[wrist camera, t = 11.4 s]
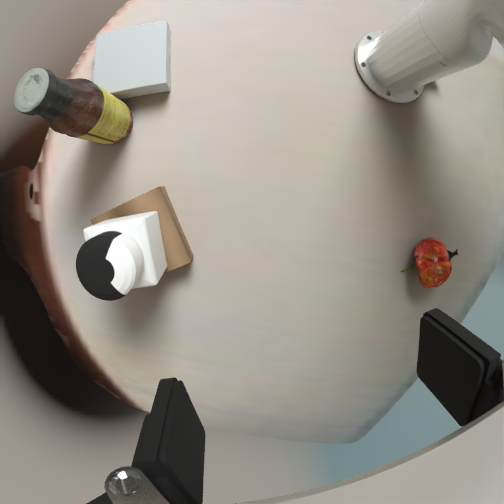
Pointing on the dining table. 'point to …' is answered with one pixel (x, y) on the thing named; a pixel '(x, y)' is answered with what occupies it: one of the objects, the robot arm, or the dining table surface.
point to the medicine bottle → (121, 255)
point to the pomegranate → (432, 262)
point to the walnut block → (169, 224)
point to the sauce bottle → (73, 106)
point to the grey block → (134, 60)
